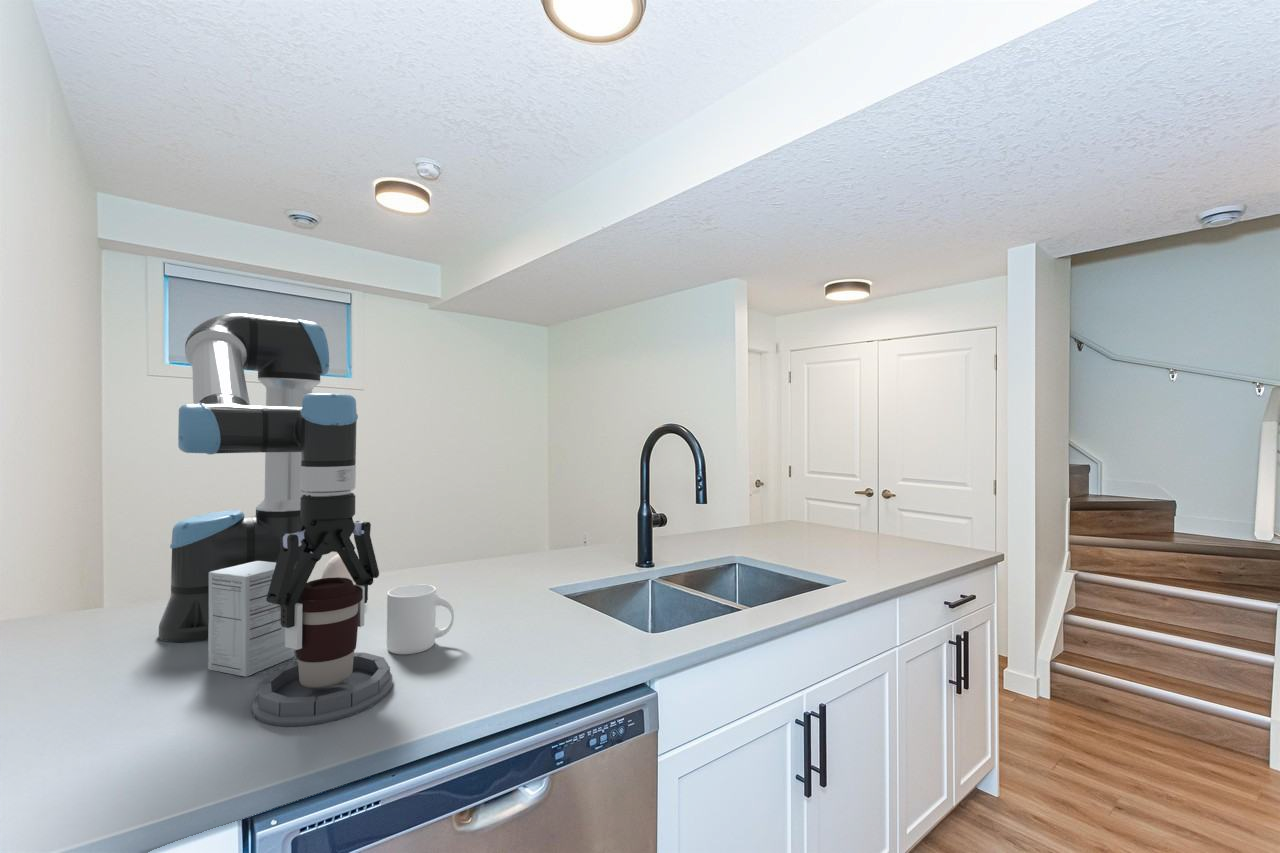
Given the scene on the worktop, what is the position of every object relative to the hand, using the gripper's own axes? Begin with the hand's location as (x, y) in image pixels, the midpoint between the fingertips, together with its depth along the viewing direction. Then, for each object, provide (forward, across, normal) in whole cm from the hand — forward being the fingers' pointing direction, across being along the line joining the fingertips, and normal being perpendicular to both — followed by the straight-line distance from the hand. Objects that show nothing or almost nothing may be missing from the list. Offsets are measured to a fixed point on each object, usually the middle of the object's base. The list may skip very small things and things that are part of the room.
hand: (326, 635), depth 89 cm
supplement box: (+9, +2, +22) cm, 24 cm away
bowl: (+9, 0, 0) cm, 9 cm away
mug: (+9, +21, +2) cm, 23 cm away
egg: (+10, +32, +39) cm, 51 cm away
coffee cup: (+7, 0, 0) cm, 7 cm away
